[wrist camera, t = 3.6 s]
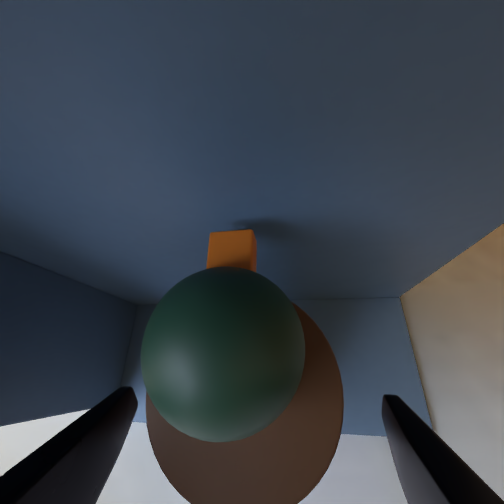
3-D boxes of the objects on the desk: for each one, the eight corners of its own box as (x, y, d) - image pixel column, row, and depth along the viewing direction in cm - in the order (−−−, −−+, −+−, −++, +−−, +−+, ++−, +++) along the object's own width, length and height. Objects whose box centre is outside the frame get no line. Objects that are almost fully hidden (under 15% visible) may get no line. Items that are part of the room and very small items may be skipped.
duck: (323, 433, 14) (452, 781, 2) (225, 427, 15) (-49, 649, 3) (312, 309, 17) (340, 178, 5) (231, 311, 18) (102, 203, 6)
